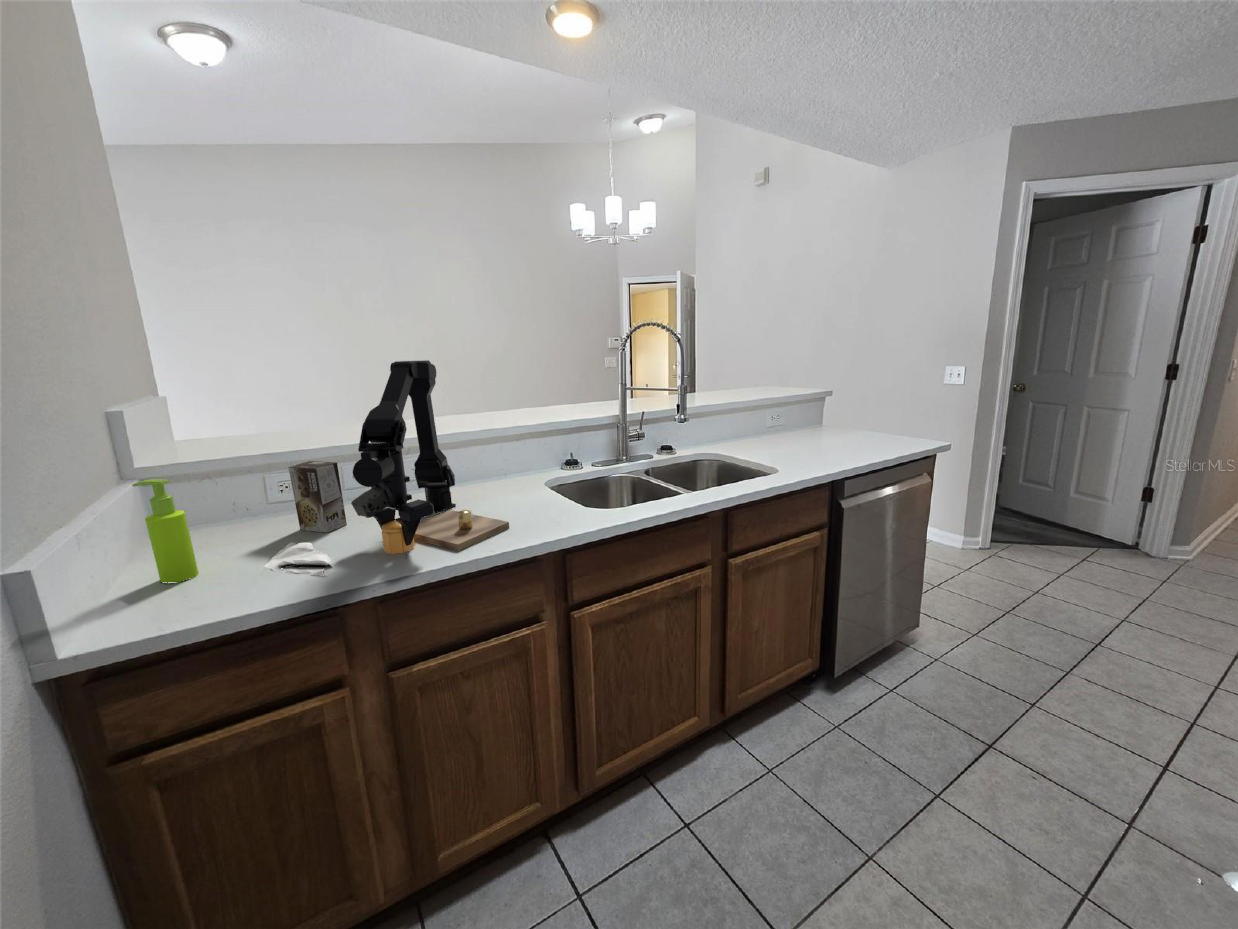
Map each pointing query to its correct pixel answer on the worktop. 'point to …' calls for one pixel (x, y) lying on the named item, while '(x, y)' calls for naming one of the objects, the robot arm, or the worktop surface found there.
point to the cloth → (299, 559)
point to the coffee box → (318, 496)
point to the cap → (394, 538)
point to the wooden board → (457, 530)
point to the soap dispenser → (169, 536)
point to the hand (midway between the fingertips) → (399, 542)
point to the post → (465, 520)
